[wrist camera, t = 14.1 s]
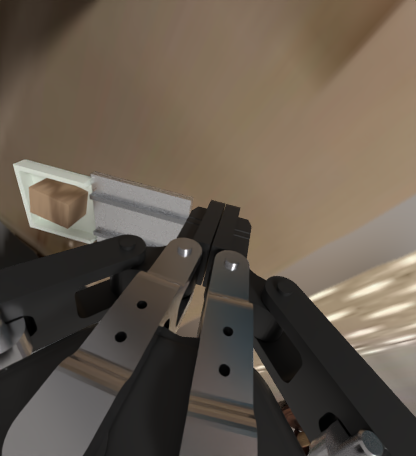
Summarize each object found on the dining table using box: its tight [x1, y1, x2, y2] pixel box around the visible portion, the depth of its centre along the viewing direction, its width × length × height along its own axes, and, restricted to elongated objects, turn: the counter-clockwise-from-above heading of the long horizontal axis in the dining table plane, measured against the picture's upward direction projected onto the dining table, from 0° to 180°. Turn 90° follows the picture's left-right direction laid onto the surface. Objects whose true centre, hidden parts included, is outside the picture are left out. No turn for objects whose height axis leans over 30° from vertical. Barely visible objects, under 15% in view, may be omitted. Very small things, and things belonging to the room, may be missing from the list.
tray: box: [13, 159, 97, 244], centre depth 55 cm, size 15×15×3 cm
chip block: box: [29, 178, 88, 229], centre depth 52 cm, size 6×6×8 cm
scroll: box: [281, 405, 311, 456], centre depth 72 cm, size 15×15×20 cm
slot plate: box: [89, 171, 193, 247], centre depth 53 cm, size 20×18×2 cm
